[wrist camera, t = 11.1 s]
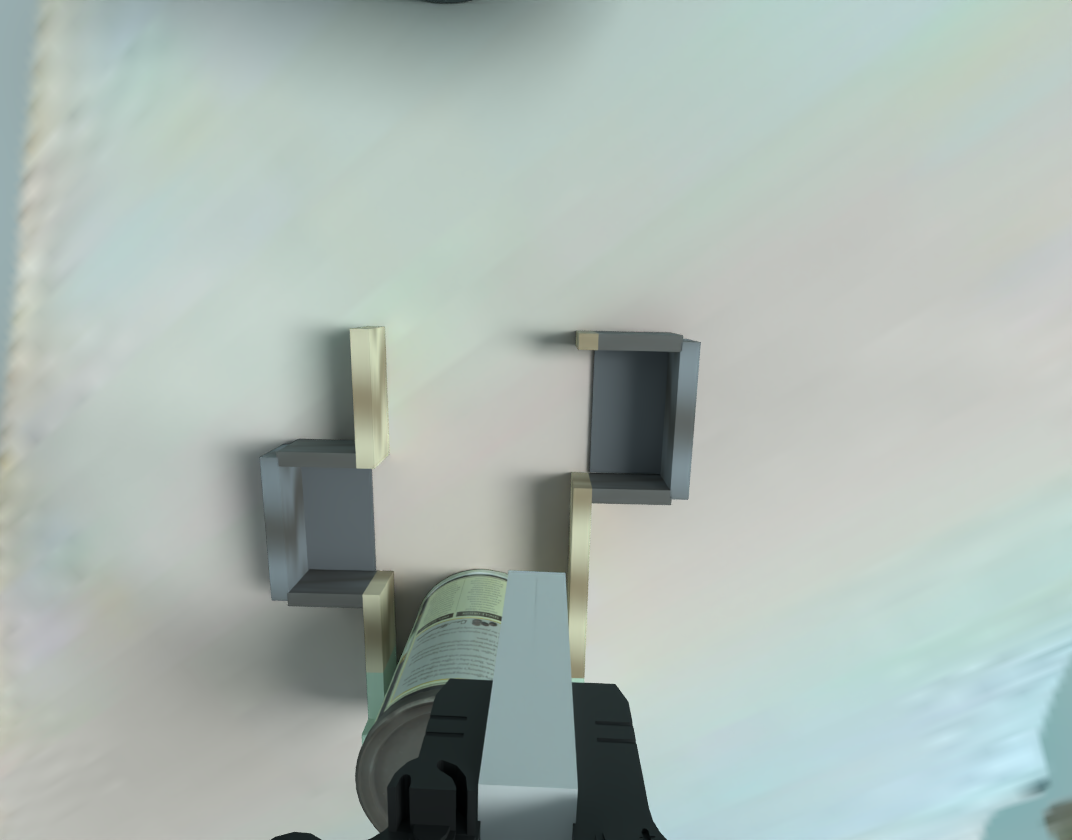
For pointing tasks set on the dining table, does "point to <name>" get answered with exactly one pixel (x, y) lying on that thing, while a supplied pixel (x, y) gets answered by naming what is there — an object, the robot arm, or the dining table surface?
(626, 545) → the dining table surface
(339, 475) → the mats
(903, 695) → the dining table surface
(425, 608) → the coffee can
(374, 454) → the channel
